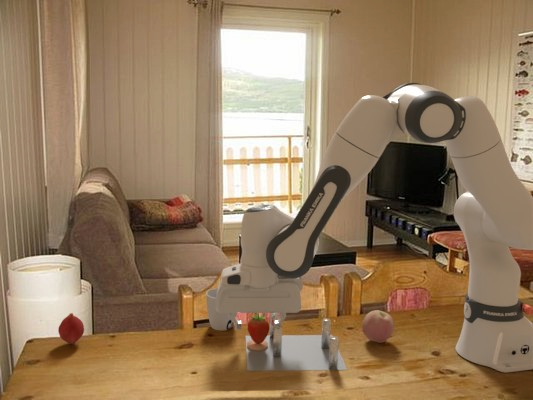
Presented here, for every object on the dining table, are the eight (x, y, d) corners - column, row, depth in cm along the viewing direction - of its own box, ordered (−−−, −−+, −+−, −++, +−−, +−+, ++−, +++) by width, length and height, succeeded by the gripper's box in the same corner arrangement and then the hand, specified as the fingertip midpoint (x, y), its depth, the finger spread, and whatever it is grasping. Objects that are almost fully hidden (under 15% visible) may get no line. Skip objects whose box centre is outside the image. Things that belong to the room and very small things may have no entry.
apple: (379, 351, 134) (381, 320, 132) (355, 341, 139) (356, 311, 138) (399, 342, 139) (401, 312, 138) (374, 332, 145) (376, 303, 143)
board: (332, 338, 140) (332, 335, 140) (346, 373, 123) (347, 369, 123) (245, 339, 139) (245, 335, 139) (247, 375, 121) (247, 370, 121)
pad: (267, 341, 136) (267, 339, 136) (268, 350, 131) (268, 348, 131) (246, 341, 135) (246, 339, 135) (247, 351, 131) (247, 348, 130)
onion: (53, 346, 133) (52, 315, 131) (70, 337, 138) (69, 306, 136) (73, 351, 131) (71, 319, 129) (89, 341, 136) (88, 310, 134)
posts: (324, 335, 140) (325, 308, 139) (338, 369, 123) (339, 340, 121) (269, 335, 139) (270, 309, 138) (275, 370, 122) (275, 340, 120)
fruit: (273, 343, 133) (274, 312, 132) (258, 351, 129) (259, 318, 128) (256, 337, 137) (257, 306, 135) (242, 343, 133) (242, 312, 131)
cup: (232, 337, 140) (233, 300, 138) (202, 334, 141) (202, 297, 140) (240, 324, 148) (241, 289, 146) (211, 321, 149) (211, 286, 147)
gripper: (301, 269, 133) (299, 323, 136) (216, 269, 132) (215, 323, 135) (304, 277, 127) (302, 334, 130) (215, 277, 126) (215, 334, 129)
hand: (257, 329), depth 132 cm, fingers open, 8 cm apart
